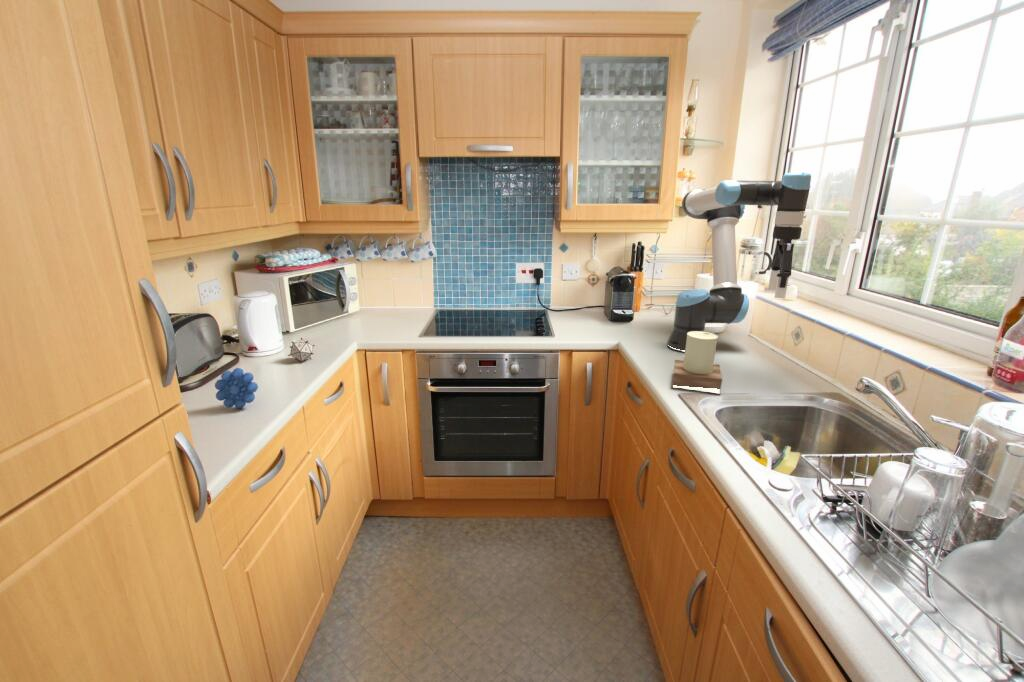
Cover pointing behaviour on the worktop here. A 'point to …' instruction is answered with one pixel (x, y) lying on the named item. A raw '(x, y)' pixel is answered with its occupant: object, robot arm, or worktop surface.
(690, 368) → the can
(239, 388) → the blue knobbed ball
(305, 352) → the grey spiked polyhedron
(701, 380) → the walnut block
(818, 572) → the worktop surface
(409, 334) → the worktop surface
